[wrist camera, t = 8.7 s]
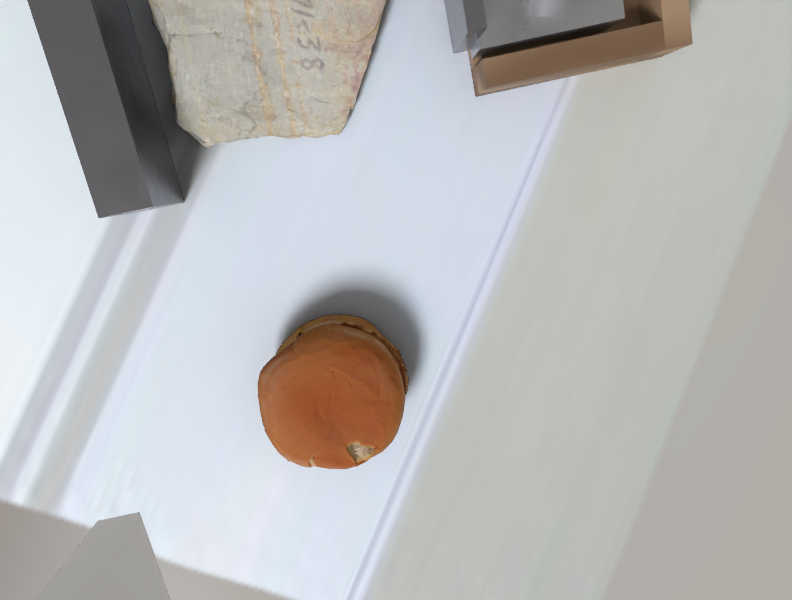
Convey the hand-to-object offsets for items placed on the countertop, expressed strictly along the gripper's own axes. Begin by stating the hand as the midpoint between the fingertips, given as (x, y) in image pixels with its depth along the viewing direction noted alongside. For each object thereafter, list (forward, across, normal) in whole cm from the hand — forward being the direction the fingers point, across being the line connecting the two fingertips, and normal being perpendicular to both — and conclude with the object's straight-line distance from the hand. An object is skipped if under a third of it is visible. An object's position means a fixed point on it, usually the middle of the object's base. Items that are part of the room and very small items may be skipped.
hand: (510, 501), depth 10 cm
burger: (+27, -6, -7) cm, 29 cm away
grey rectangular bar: (+27, -15, +15) cm, 34 cm away
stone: (+27, -6, +15) cm, 32 cm away
